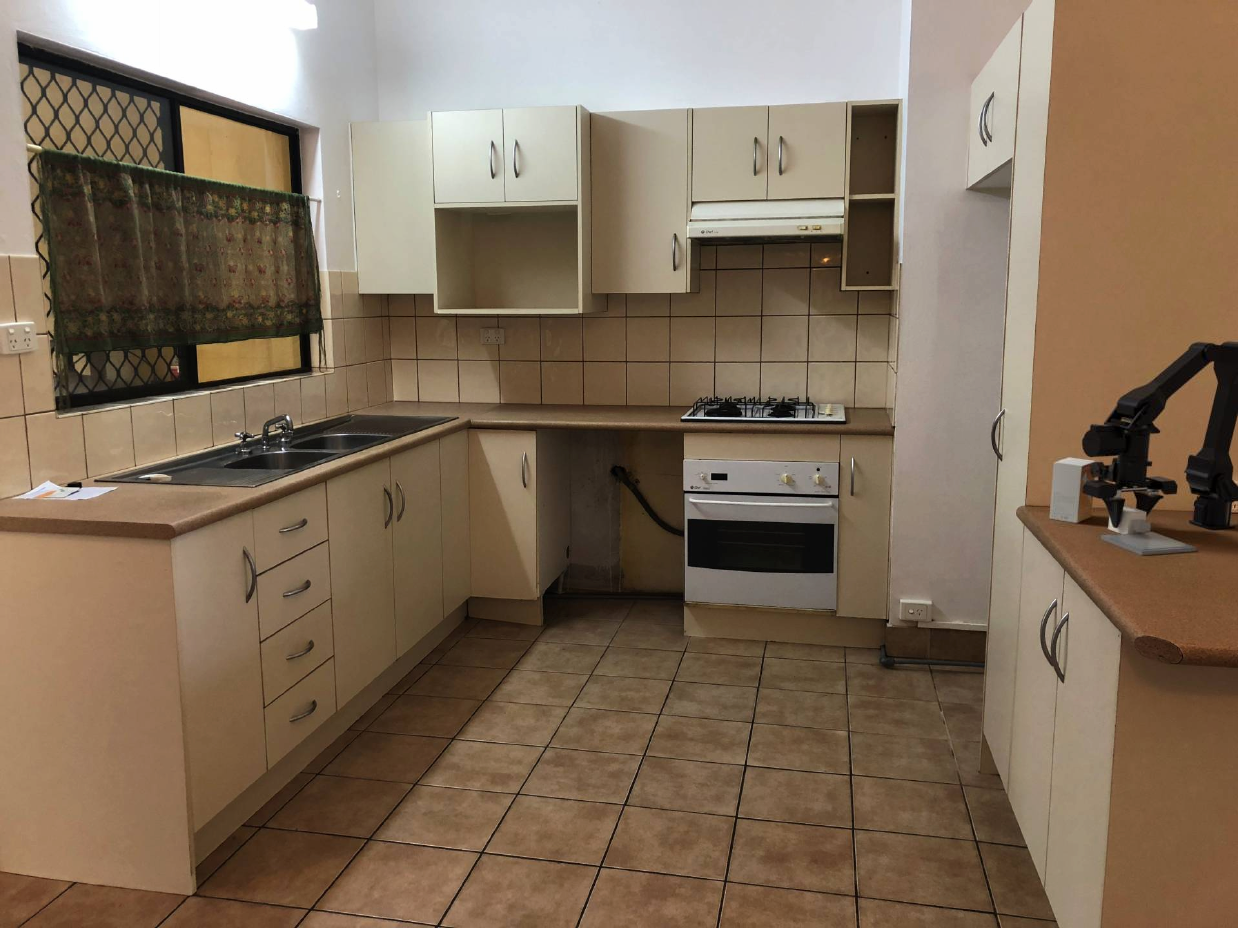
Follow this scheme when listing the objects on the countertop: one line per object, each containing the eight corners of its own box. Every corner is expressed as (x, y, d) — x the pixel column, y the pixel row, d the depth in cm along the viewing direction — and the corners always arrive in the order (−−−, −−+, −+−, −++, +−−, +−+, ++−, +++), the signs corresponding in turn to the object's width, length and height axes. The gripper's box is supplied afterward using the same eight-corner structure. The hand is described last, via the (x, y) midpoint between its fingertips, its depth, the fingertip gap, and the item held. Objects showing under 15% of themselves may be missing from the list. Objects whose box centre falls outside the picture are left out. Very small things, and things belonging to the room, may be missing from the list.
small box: (1077, 523, 218) (1082, 465, 215) (1048, 518, 222) (1052, 461, 219) (1092, 517, 223) (1097, 460, 220) (1063, 512, 228) (1068, 456, 225)
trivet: (1151, 535, 207) (1152, 531, 207) (1195, 551, 196) (1195, 546, 196) (1100, 539, 205) (1101, 534, 205) (1141, 555, 194) (1141, 550, 193)
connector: (1124, 527, 214) (1126, 505, 213) (1152, 538, 206) (1154, 514, 205) (1108, 529, 213) (1110, 506, 212) (1135, 539, 205) (1137, 515, 204)
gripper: (1145, 446, 217) (1138, 515, 220) (1068, 450, 213) (1063, 520, 217) (1182, 455, 206) (1175, 527, 209) (1103, 459, 203) (1097, 533, 206)
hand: (1126, 526), depth 211 cm, fingers open, 5 cm apart
